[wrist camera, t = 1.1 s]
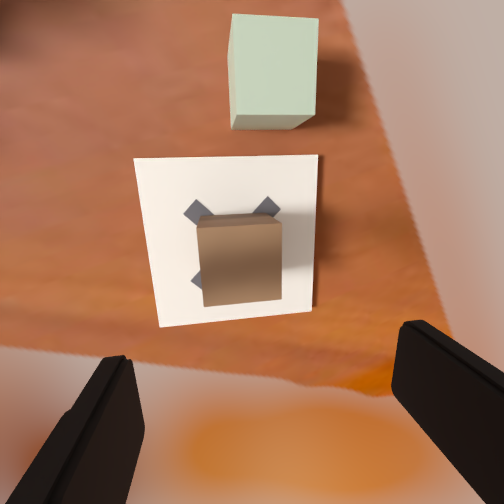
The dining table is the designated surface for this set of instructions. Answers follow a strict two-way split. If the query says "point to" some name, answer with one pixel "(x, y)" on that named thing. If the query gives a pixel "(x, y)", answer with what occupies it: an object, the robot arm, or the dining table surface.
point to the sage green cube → (272, 71)
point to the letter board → (223, 203)
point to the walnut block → (240, 258)
